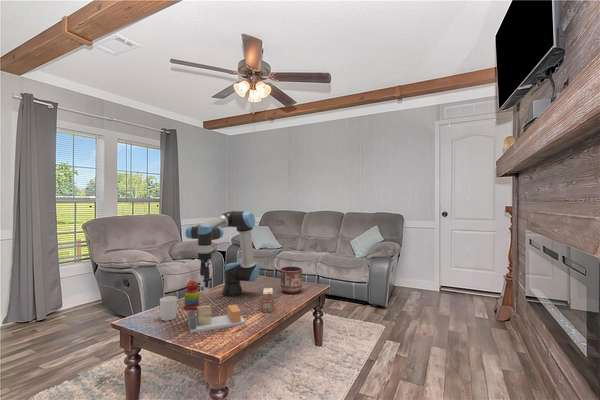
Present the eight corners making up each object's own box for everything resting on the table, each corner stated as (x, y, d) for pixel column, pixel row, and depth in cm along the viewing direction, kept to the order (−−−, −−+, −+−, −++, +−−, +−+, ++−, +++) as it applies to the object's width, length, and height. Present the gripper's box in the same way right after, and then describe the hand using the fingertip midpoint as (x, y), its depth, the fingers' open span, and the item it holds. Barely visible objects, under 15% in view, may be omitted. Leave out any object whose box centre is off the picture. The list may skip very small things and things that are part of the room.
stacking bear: (202, 308, 199) (202, 281, 199) (185, 311, 194) (186, 283, 194) (198, 303, 208) (198, 277, 208) (182, 306, 203) (183, 279, 203)
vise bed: (188, 323, 174) (188, 310, 175) (239, 315, 187) (239, 303, 187) (190, 333, 162) (190, 319, 162) (245, 323, 175) (245, 310, 175)
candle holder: (163, 315, 186) (163, 296, 186) (179, 315, 187) (179, 295, 187) (156, 322, 177) (157, 301, 177) (174, 321, 177) (174, 301, 178)
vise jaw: (227, 315, 183) (227, 305, 183) (235, 314, 185) (235, 304, 185) (232, 322, 172) (232, 312, 172) (240, 321, 174) (240, 310, 174)
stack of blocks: (263, 301, 214) (263, 284, 214) (272, 301, 214) (272, 284, 214) (262, 312, 193) (262, 293, 193) (272, 312, 193) (272, 293, 193)
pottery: (275, 292, 234) (275, 269, 234) (287, 287, 249) (288, 265, 249) (294, 296, 225) (294, 272, 225) (306, 290, 240) (306, 268, 240)
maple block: (197, 322, 172) (197, 306, 172) (209, 320, 175) (210, 305, 175) (198, 325, 168) (198, 309, 168) (211, 323, 171) (211, 307, 171)
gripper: (195, 249, 181) (195, 284, 181) (200, 256, 159) (200, 296, 159) (208, 248, 185) (208, 283, 185) (215, 255, 162) (215, 295, 162)
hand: (204, 289), depth 172 cm, fingers open, 13 cm apart
